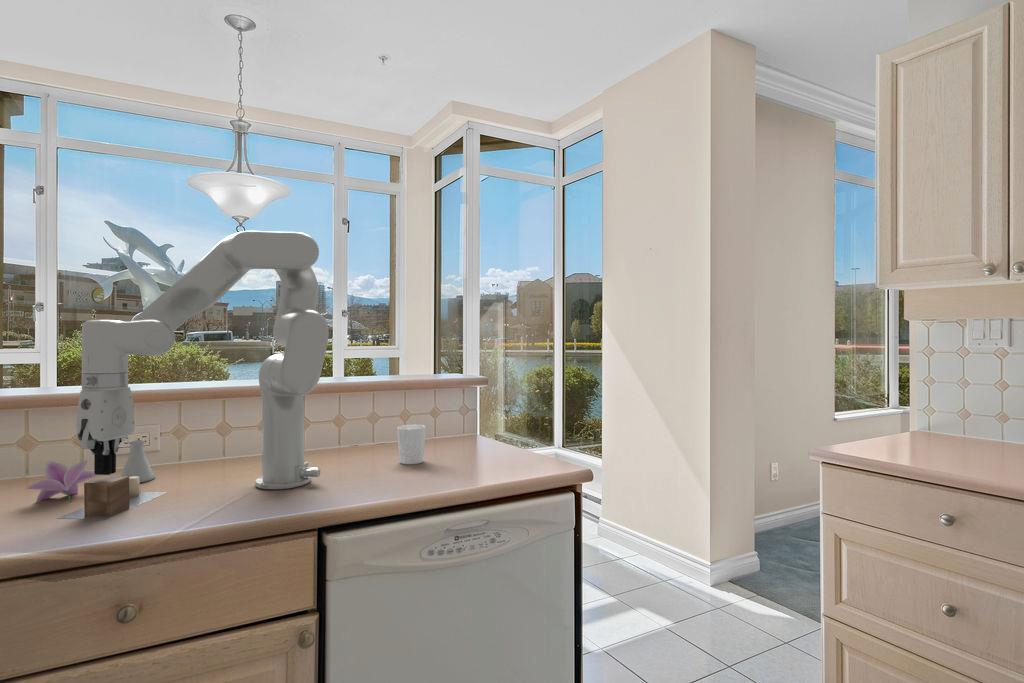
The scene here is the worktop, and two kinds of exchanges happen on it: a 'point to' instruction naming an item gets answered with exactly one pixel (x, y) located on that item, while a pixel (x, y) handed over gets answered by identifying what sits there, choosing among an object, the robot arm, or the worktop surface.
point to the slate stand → (134, 500)
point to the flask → (138, 462)
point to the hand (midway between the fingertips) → (105, 473)
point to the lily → (61, 480)
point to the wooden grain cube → (106, 496)
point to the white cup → (411, 443)
